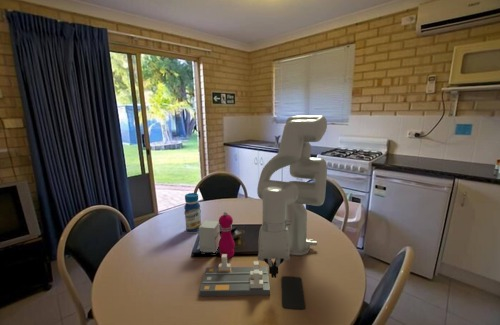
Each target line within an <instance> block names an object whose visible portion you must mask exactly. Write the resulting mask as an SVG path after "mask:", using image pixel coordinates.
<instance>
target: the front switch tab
mask: <svg viewBox="0 0 500 325" xmlns="http://www.w3.org/2000/svg"><path fill="white" fill-rule="evenodd" d="M250 288H263V280H259V270H254V280H250Z"/></svg>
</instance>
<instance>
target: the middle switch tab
mask: <svg viewBox="0 0 500 325" xmlns="http://www.w3.org/2000/svg"><path fill="white" fill-rule="evenodd" d="M259 261H260V260H253V267H254V270H259V267H260V264H259ZM250 279H254V271H250ZM259 279H263V274H262V271H259Z"/></svg>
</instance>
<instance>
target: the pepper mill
mask: <svg viewBox="0 0 500 325" xmlns="http://www.w3.org/2000/svg"><path fill="white" fill-rule="evenodd" d="M218 221H219V229H220V232H221V235H220V241H219V249H218V250H219V256H220V257H221V258H222V254H227V259H229V258H232V257H234V255H235V247H236V243H235V240H234V238H233V236H232V230H233V221H234V219H233V217H232V216H231V215H230V214H228V212H227V211H224V212H223V214H222V215H220V216H219V219H218Z"/></svg>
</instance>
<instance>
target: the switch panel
mask: <svg viewBox="0 0 500 325" xmlns="http://www.w3.org/2000/svg"><path fill="white" fill-rule="evenodd" d="M250 271H254V266H235V267H234V266H233V267H232V266H231V269H230V271H219V267H206V268H205V271H204V274H203V278H202V282H201V286H200V289H199V296H200V297H214V296H215V297H221V296H222V297H225V296H226V297H228V296H230V297H231V296H233V297H234V296H270V295H271V287H270V286H271V285H270V276H269V275H270V274H269V266H259V271H262V274H263V279H259V280H263V288H250V280H254V279H250Z"/></svg>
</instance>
